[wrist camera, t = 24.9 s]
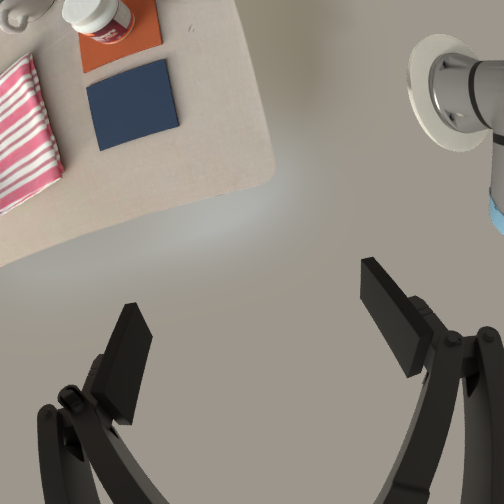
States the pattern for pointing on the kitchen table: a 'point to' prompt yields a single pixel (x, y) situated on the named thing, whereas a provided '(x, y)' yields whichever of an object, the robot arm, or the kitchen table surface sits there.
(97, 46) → the terracotta mat
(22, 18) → the mug
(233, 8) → the kitchen table surface
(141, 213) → the kitchen table surface
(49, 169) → the dish towel
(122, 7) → the pill bottle
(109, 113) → the slate blue mat
